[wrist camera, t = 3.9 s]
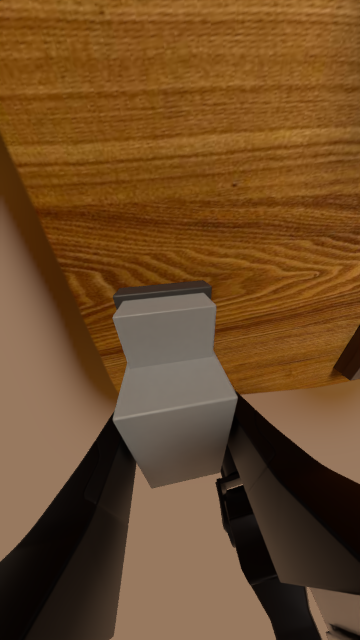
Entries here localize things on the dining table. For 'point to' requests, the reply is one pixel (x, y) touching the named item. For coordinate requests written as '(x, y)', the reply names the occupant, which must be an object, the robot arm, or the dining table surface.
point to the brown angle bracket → (350, 359)
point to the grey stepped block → (172, 382)
